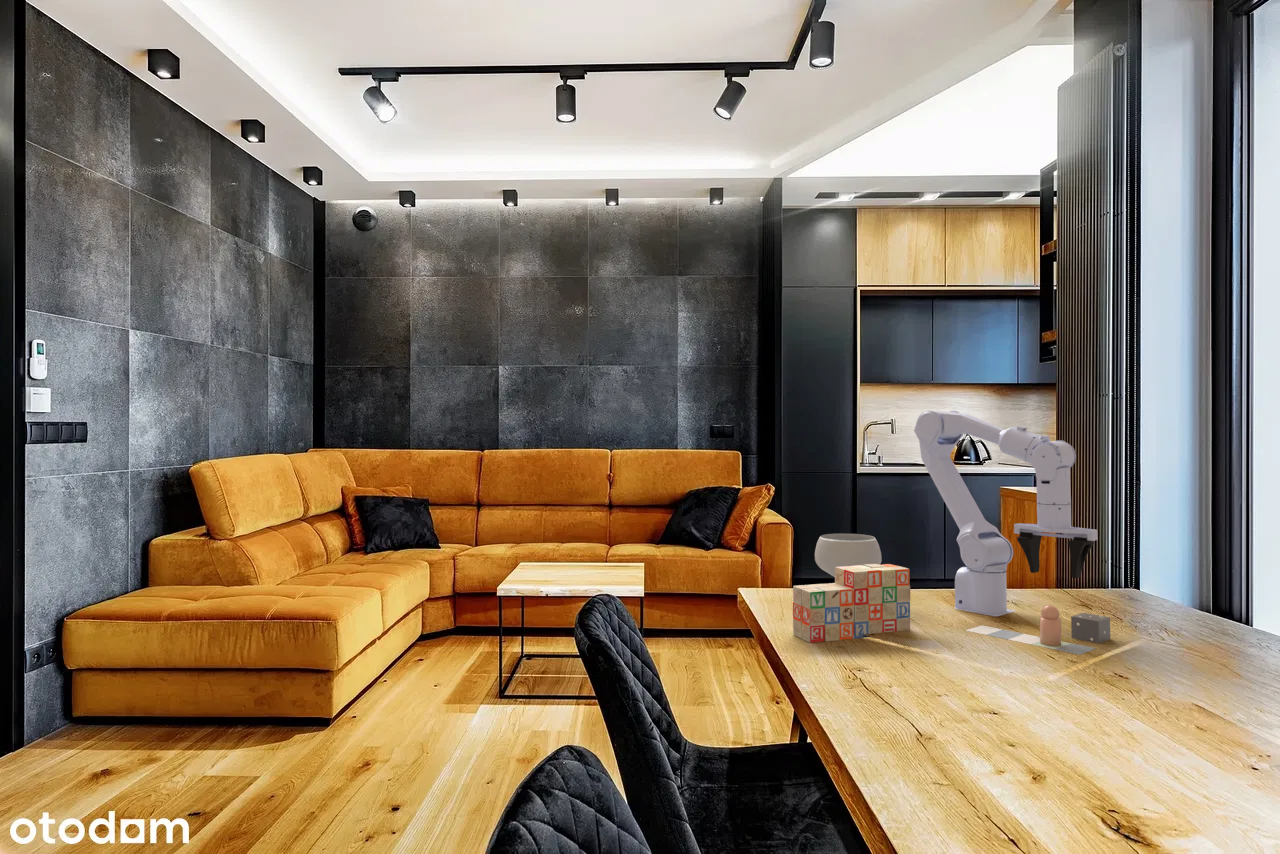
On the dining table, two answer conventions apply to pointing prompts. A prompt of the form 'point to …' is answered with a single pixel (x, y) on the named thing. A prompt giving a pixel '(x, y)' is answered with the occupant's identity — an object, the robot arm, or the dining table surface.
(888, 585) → the stack of blocks
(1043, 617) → the pawn
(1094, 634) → the die
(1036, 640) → the board
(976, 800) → the dining table surface
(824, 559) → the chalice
